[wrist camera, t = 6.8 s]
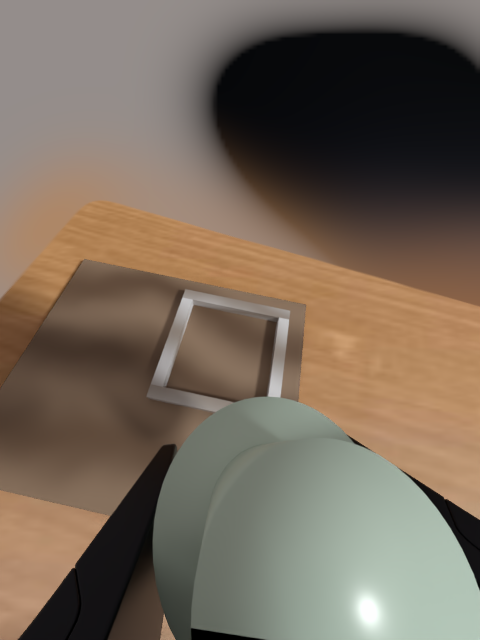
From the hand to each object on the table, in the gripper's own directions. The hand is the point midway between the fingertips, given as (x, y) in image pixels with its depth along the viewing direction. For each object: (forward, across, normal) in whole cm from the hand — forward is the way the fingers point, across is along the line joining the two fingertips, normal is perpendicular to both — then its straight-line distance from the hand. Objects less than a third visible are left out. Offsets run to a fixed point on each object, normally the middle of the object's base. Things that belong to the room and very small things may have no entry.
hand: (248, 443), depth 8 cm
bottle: (+3, 0, +5) cm, 6 cm away
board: (+14, +6, +5) cm, 16 cm away
